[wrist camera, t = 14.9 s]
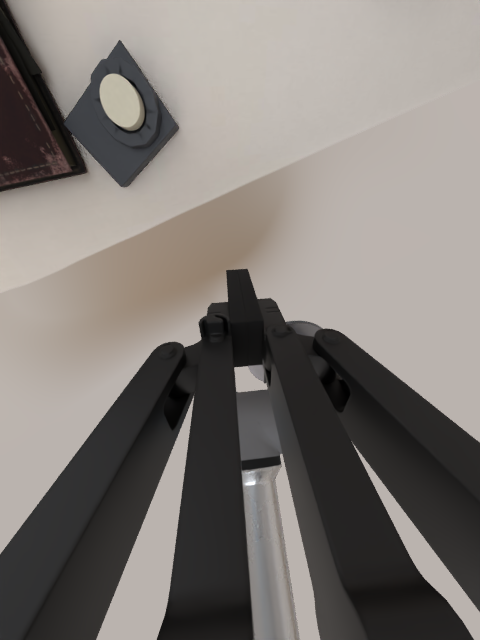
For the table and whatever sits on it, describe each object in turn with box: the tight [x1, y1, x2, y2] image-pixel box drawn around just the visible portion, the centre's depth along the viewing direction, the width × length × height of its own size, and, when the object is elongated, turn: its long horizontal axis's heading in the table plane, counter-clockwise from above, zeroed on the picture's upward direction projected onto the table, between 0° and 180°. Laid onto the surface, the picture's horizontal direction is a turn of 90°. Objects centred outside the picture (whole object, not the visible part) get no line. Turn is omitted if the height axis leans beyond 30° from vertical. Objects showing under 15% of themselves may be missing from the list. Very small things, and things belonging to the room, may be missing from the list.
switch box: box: [63, 40, 179, 187], centre depth 25 cm, size 11×8×4 cm
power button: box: [100, 74, 145, 131], centre depth 22 cm, size 4×4×2 cm
